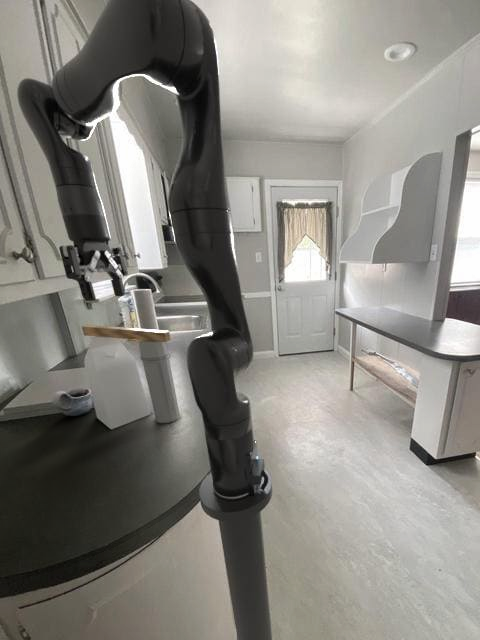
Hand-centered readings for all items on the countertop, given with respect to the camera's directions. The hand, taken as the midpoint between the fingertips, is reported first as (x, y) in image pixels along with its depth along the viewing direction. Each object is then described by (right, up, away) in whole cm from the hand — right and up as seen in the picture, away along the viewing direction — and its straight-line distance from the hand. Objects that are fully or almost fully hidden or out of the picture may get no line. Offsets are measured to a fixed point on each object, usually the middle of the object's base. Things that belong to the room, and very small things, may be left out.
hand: (106, 298), depth 67 cm
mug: (-28, -29, +31) cm, 51 cm away
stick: (-5, -6, +18) cm, 20 cm away
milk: (-12, -29, +29) cm, 43 cm away
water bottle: (+4, -30, +26) cm, 40 cm away
